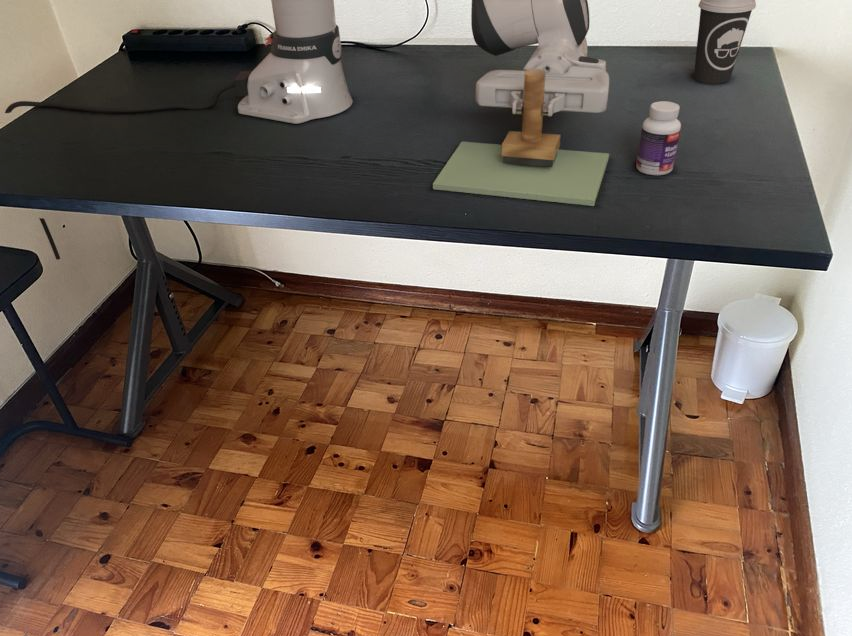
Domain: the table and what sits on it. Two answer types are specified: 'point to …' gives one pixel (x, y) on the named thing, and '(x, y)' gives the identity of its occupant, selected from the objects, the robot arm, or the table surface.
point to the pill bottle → (659, 139)
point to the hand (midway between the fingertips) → (532, 110)
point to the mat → (523, 175)
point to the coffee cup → (720, 38)
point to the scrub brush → (531, 128)
